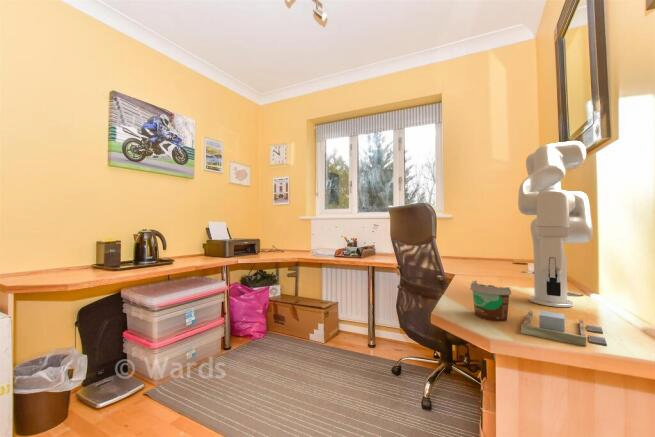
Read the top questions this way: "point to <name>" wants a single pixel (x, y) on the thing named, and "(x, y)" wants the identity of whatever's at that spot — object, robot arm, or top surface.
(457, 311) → the top surface
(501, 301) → the food container
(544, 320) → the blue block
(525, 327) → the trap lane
